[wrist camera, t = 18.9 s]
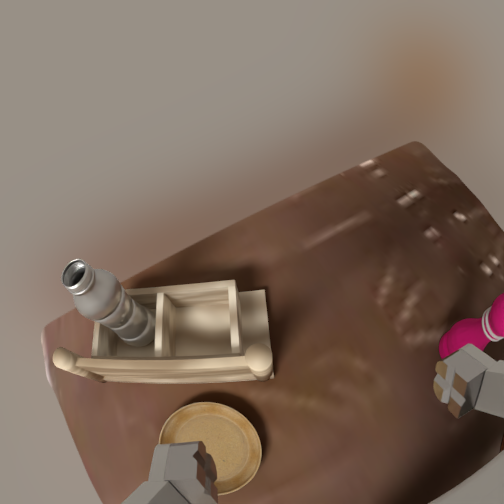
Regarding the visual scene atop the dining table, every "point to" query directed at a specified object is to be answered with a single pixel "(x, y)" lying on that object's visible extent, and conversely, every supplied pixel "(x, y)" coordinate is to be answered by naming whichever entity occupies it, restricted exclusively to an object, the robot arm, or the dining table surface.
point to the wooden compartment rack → (185, 339)
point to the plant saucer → (218, 440)
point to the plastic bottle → (108, 303)
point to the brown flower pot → (503, 446)
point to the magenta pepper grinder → (475, 330)
